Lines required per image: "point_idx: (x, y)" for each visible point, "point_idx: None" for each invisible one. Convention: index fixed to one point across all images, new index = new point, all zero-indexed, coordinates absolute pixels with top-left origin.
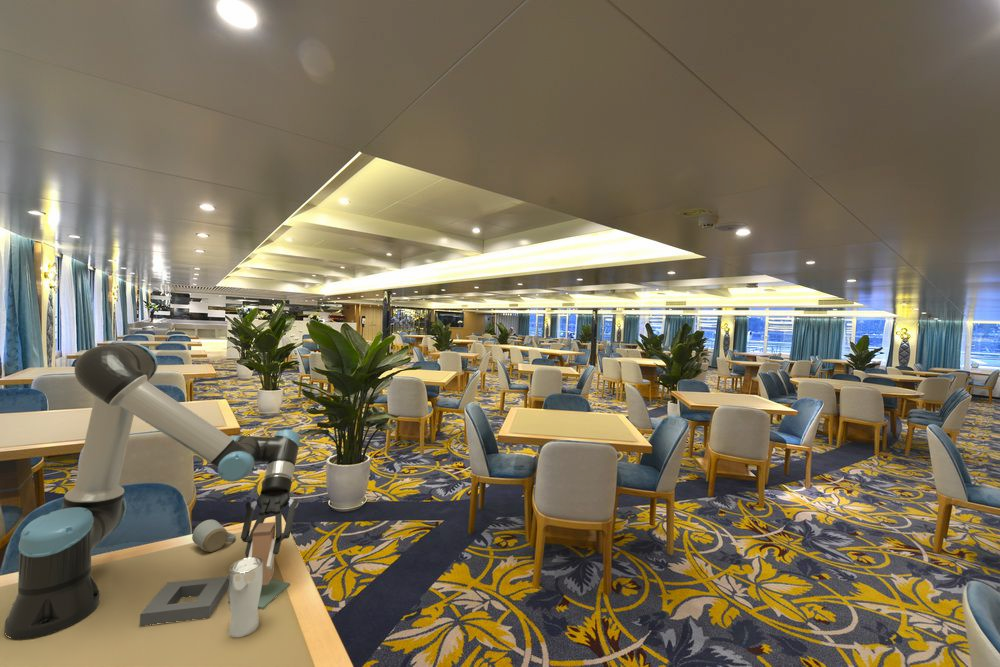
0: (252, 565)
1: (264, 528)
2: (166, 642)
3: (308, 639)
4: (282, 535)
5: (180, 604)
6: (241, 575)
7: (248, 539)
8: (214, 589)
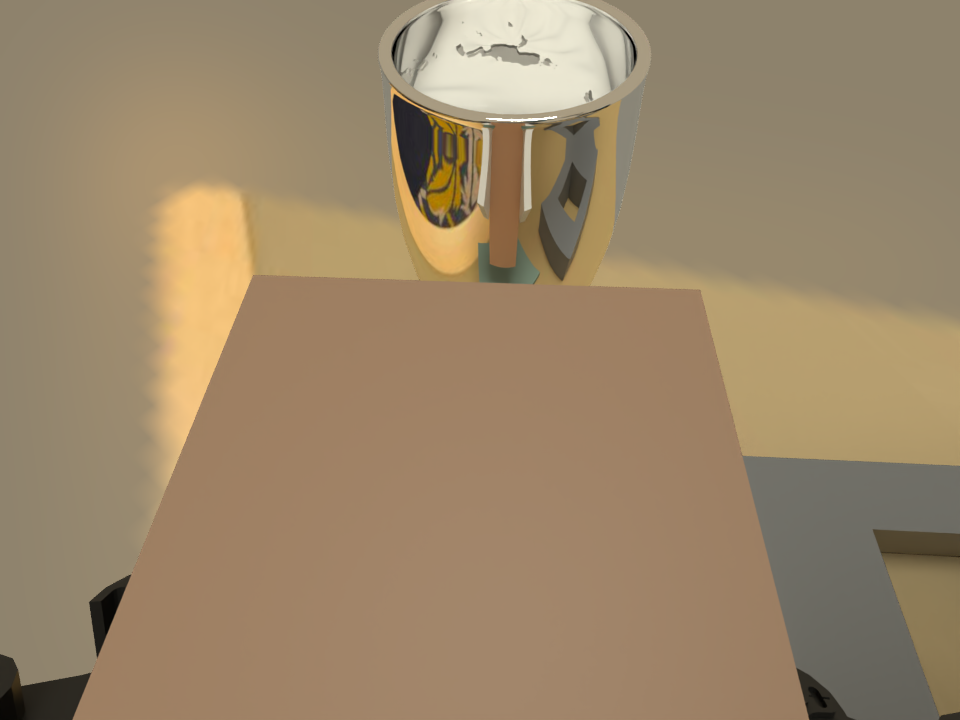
0: (491, 199)
1: (426, 478)
2: (803, 360)
3: (239, 260)
4: (58, 715)
5: (948, 516)
6: (515, 8)
7: (814, 693)
8: (830, 659)
